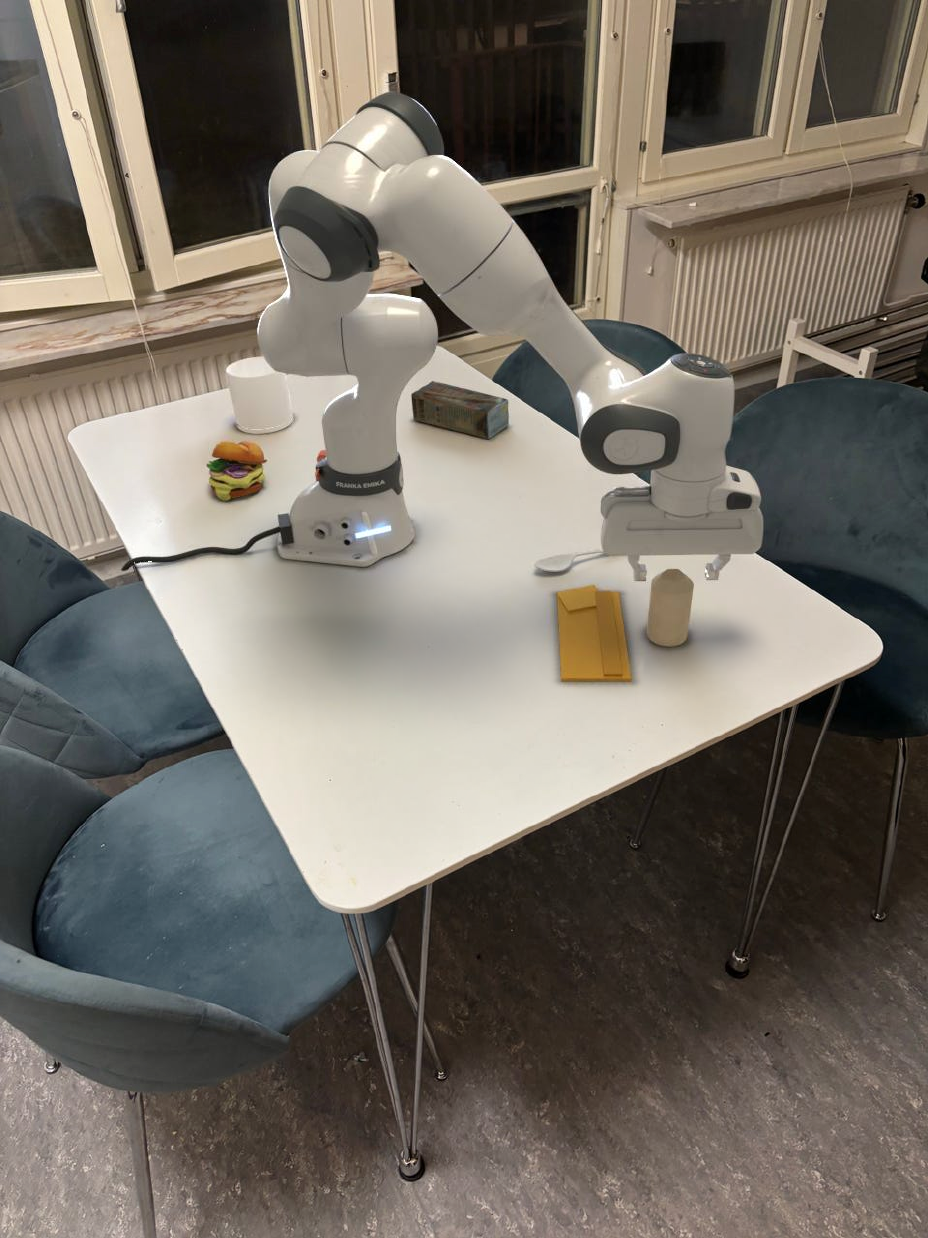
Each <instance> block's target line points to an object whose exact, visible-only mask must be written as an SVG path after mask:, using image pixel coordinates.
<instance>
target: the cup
mask: <svg viewBox="0 0 928 1238" xmlns="http://www.w3.org/2000/svg"><path fill="white" fill-rule="evenodd" d="M225 374H226V380H227V385H228V388H229V394H230V399H231V403H232V409H233V413H234V418H235V423H236V422H237V423H238V425H240V426H241V427H240V426H238V425H237V423H236V427H237V429H238V430H239V431H242V432H244V433H246V434H252V435H263V434H270V433H275V432H279V431H282V430H284V429H286V428H288V427H289V426H290V425H291V424H292V423H293V421H294V415H292V414H293V408H292V402H291V396H290V390H289V384H288V378H287V373H281V372H276V371H275V370H274V369H272V368H271V367H270V366H269V364H268V363H267V362H266V360H265V359H264V357H263V356H254V357H253V356H252V357H248V358H247V357H246V358H243V359H242V358H241V359H239V360H237V361H234V362H232V363H231V364H229V365H228V366H227V367H226V369H225ZM291 417H292V418H291ZM290 419H291V420H290ZM287 421H288V422H287ZM286 422H287V423H286ZM284 423H285V424H284ZM282 424H283V425H282ZM278 425H281V426H278ZM276 426H278V427H276ZM242 427H244V428H242ZM270 427H274V428H270ZM245 428H248V429H245ZM265 428H270V429H265ZM251 429H263V430H251Z"/></svg>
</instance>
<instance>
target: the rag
mask: <svg viewBox="0 0 928 1238" xmlns="http://www.w3.org/2000/svg"><path fill="white" fill-rule="evenodd" d="M556 603H557V604H556V605H557V621H558V622H557V624H558V641H559V643H558V644H559V660H560V661H559V663H560V680H561V682H632V674H631V668H630V667H631V666H630V660H629V654H628V646H627V640H626V634H625V633H626V632H625V626H624V621H623V614H622V613H623V612H622V606H621V598H620V593H619V591H615V590H614V591H612V590H599V589H598V588H597V586H596V585H595V584H592V585H587V586H580V587H575V588H570V589H565V590H560V591H556Z"/></svg>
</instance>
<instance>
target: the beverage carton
mask: <svg viewBox="0 0 928 1238" xmlns="http://www.w3.org/2000/svg"><path fill="white" fill-rule="evenodd" d="M410 397H411V406H412V408H411V409H412V417H413V420H414V421H417V422H422V423H425V424H428V425H433V426H437V427H440V428H444V429H447V430H452V431H456V432H459V433H463V434H467V435H470V436H475V437H479V438H483V439H487V440H490V439H492V437H494V436H496V435H497V434H499V433H500V432H501V431H503V430H504V429H505V428H507V427H508V426H509V425H510V424H509V423H510V421H509V419H510V415H509V414H510V413H509V399H507V398H505V397H500V396H496V395H492V394H488V393H484V392H480V391H477V390H472V389H468V388H465V387H460V386H457V385H452V384H448V383H444V382H439V381H434V380H432V381H430V382H429V383H428V384H425V385H423V386H421V387H420V388H419V389H418V390H417V389H416V390H415V391H414V392H411V395H410Z"/></svg>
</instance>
